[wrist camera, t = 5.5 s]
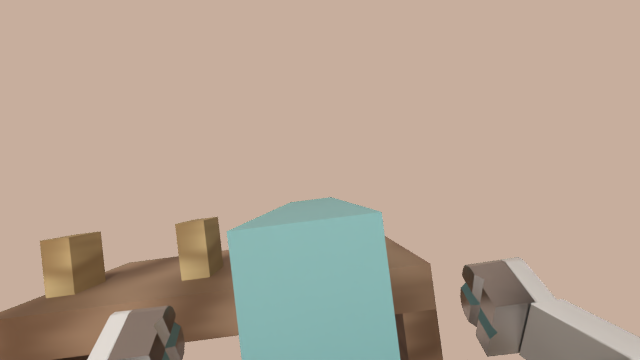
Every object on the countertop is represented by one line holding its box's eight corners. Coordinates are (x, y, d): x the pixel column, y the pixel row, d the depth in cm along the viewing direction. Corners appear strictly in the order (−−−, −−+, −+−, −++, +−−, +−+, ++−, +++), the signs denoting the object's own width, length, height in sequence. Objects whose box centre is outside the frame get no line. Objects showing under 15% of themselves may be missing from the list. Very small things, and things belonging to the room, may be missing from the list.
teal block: (336, 237, 30) (331, 197, 30) (401, 368, 8) (381, 211, 8) (295, 243, 30) (290, 202, 30) (245, 389, 8) (227, 231, 8)
